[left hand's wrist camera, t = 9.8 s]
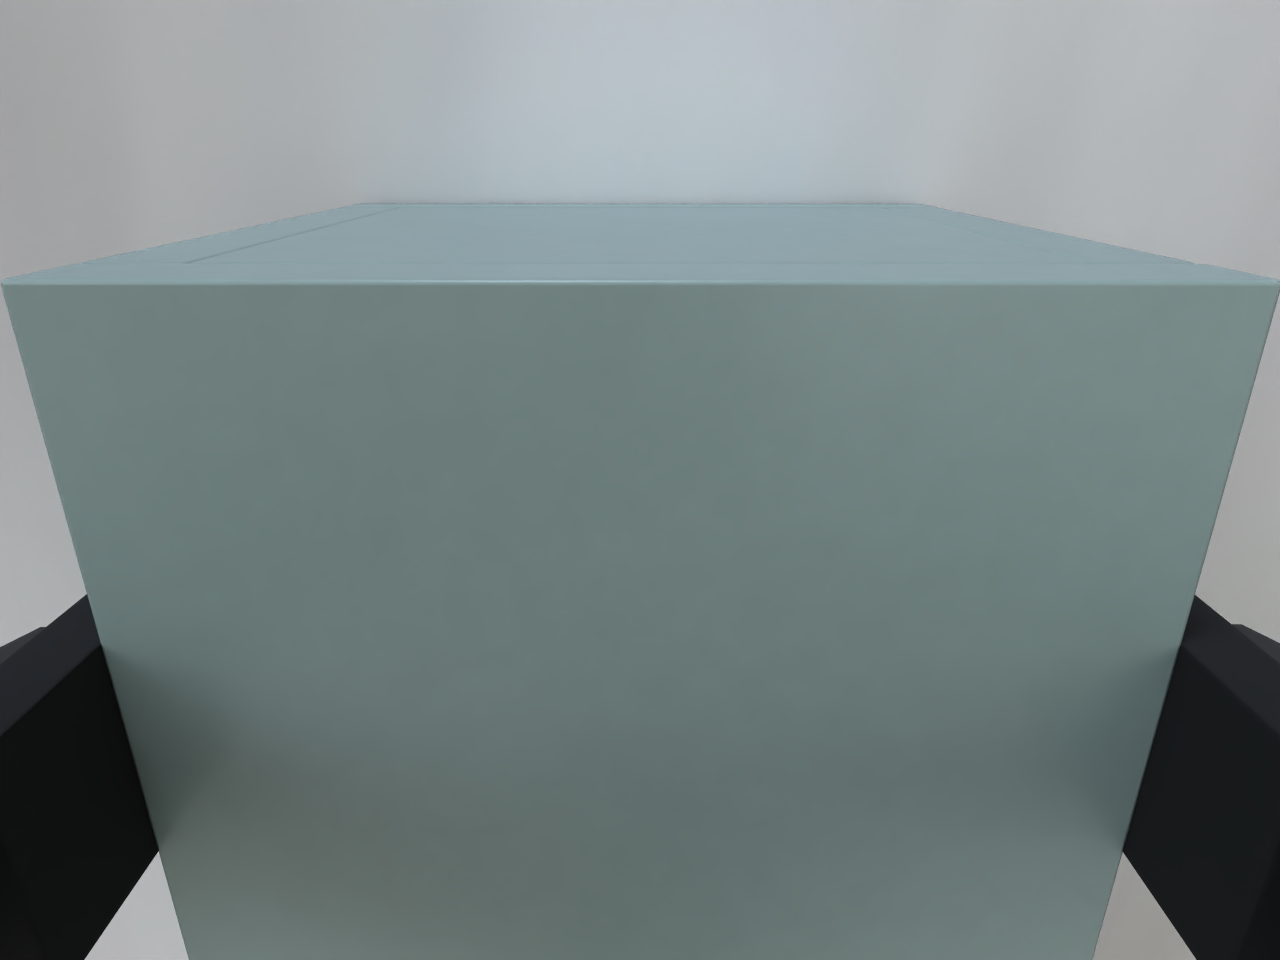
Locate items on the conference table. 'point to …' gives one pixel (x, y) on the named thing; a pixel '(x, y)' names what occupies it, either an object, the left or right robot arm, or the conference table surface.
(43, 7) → the conference table surface
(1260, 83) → the conference table surface
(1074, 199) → the conference table surface
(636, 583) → the cabinet
